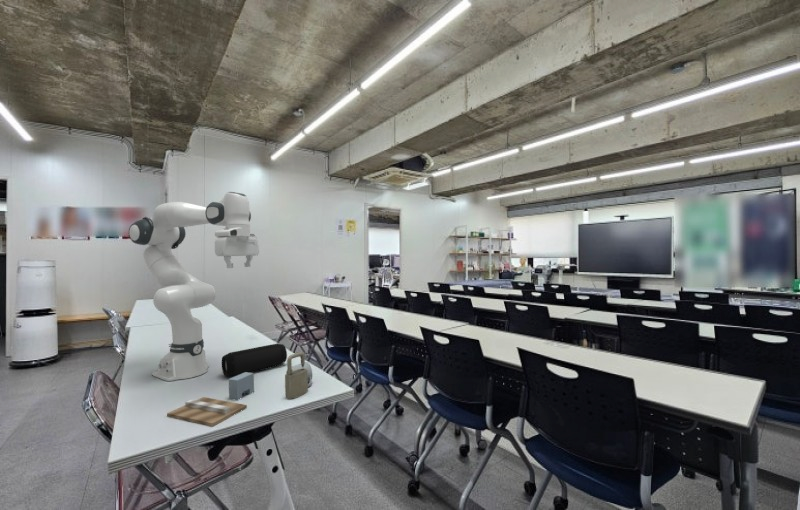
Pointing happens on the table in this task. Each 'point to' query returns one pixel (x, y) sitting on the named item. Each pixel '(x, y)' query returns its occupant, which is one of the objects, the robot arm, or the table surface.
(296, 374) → the padlock
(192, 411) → the striped wooden board
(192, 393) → the table surface
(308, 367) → the ceramic mug
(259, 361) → the portable speaker
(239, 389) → the block
